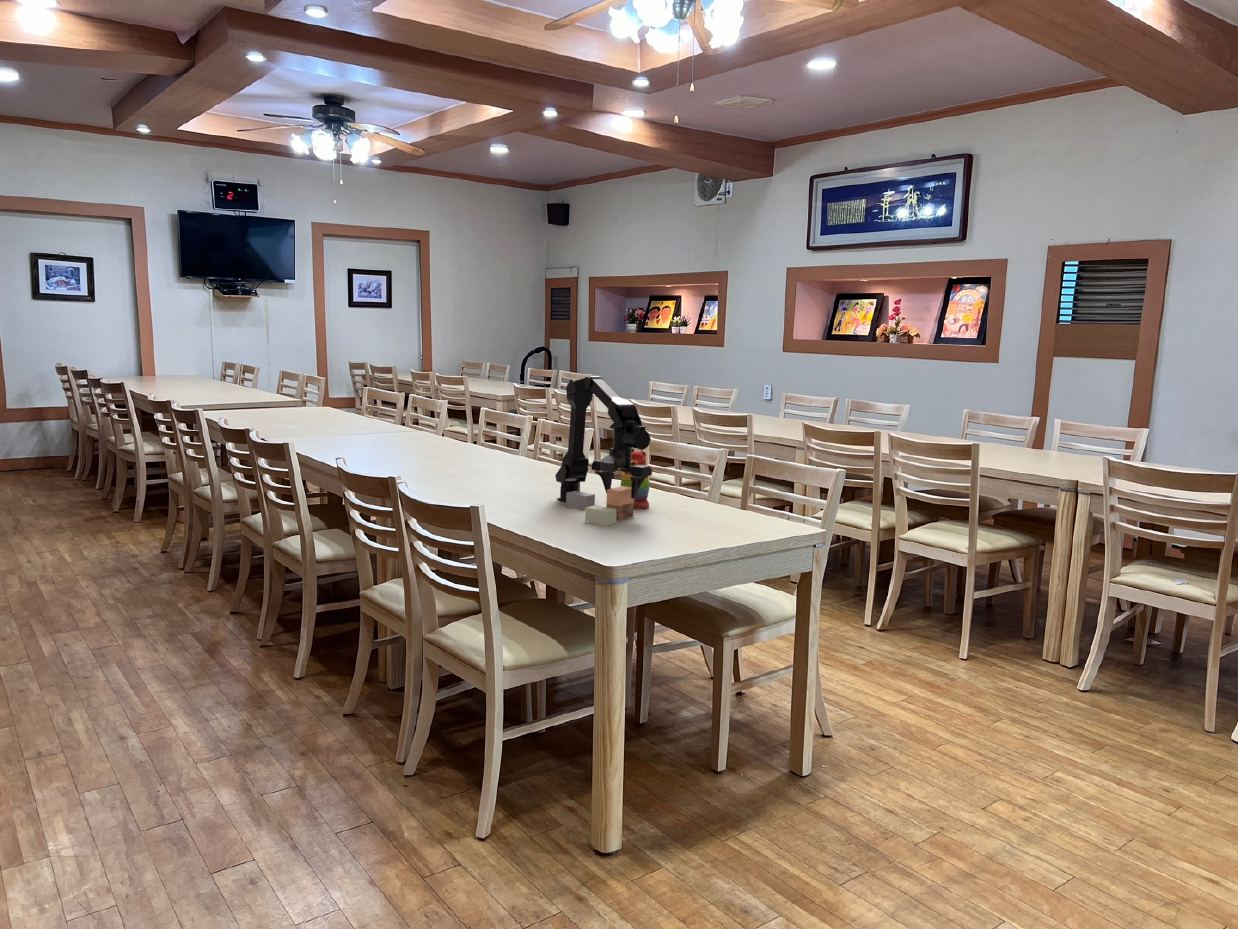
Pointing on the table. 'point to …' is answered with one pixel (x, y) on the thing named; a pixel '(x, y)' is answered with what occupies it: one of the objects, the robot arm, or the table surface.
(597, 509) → the sage block
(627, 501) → the terracotta block
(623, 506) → the walnut block
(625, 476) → the stacking bear
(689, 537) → the table surface
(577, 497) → the slate block
